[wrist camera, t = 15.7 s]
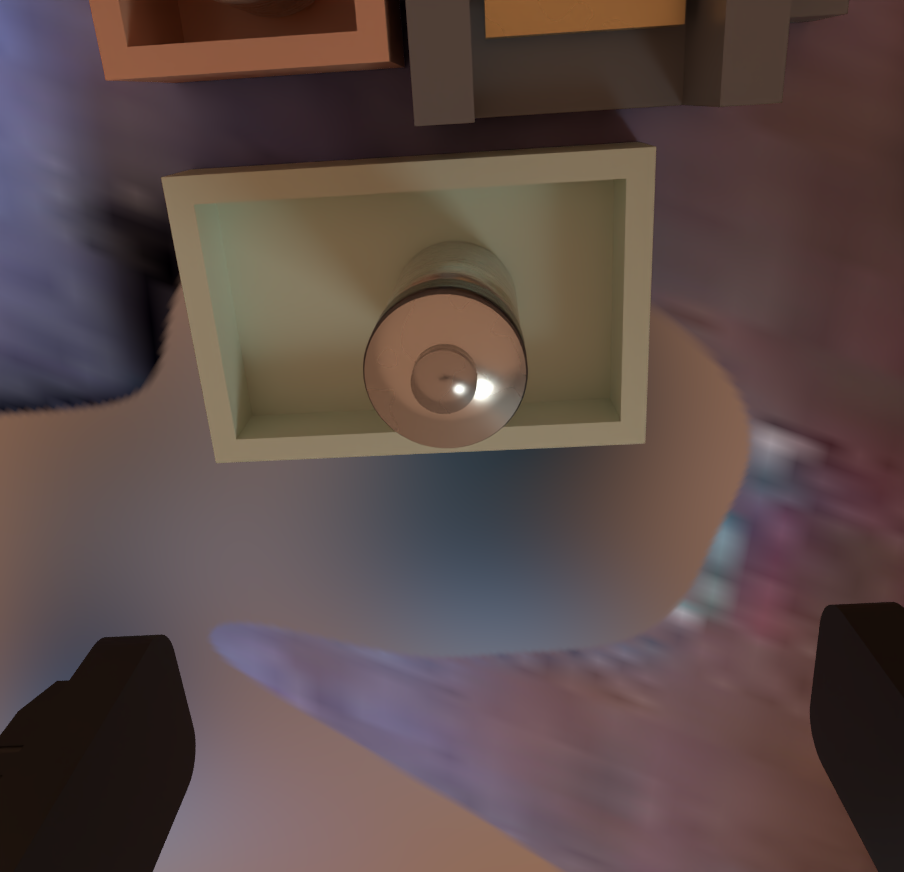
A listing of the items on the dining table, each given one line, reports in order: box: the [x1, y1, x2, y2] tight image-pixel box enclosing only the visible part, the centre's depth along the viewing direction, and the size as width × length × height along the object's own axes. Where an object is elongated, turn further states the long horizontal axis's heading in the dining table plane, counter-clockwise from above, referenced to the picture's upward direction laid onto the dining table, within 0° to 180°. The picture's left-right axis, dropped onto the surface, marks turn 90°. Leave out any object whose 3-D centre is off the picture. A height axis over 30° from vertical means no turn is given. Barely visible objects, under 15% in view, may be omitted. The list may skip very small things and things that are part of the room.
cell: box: [363, 241, 528, 448], centre depth 23 cm, size 4×4×8 cm
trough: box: [161, 142, 656, 463], centre depth 26 cm, size 9×14×3 cm, turn 93°
